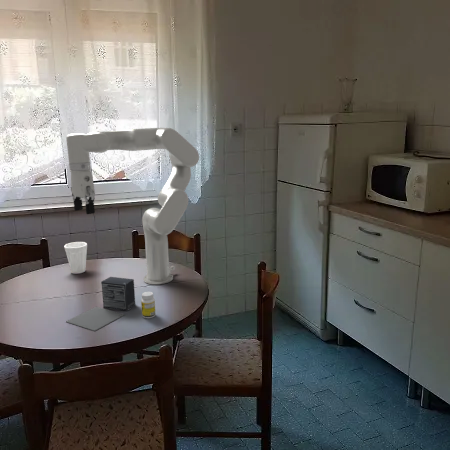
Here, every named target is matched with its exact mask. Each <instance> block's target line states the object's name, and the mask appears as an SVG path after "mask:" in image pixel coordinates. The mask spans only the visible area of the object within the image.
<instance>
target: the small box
mask: <svg viewBox="0 0 450 450" xmlns="http://www.w3.org/2000/svg"><path fill="white" fill-rule="evenodd" d="M134 281H135V280H134V278H127V277H126V278H125V277H124V278H123V277H116V276H109V277H107V278H106V279H105V278H104V280H102V281H101V283H100V284H101V291H102V292H101V294H102V295H101V296H102V305H103V307H102V308H103V309H107V310H109V309H111V310H118V311H123V312H128V311H129V310H131V309H132V308H133V307H134V306H136V296H135V295H136V292H135V282H134Z"/></svg>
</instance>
